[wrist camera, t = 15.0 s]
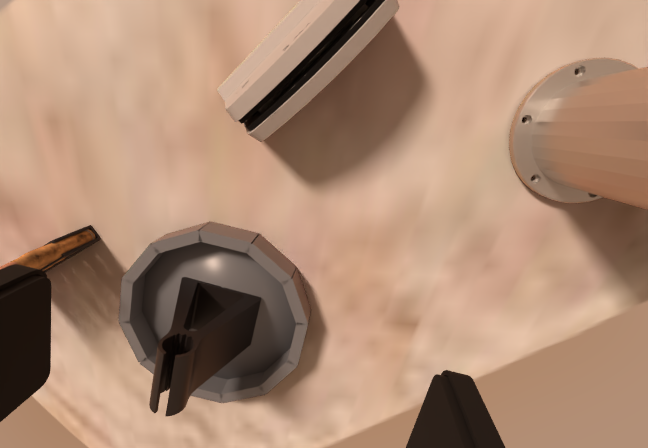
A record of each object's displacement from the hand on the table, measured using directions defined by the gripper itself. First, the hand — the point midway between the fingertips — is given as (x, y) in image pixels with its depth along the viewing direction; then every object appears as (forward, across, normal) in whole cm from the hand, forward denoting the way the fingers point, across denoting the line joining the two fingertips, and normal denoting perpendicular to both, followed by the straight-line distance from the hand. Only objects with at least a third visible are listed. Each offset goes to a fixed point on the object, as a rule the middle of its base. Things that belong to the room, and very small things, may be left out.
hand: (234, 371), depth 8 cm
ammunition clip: (+28, +27, +15) cm, 42 cm away
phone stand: (+28, +8, +17) cm, 34 cm away
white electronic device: (+29, +4, -11) cm, 31 cm away
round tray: (+28, +8, +17) cm, 34 cm away
